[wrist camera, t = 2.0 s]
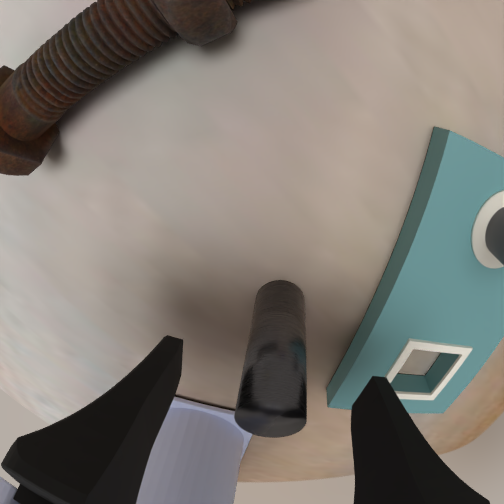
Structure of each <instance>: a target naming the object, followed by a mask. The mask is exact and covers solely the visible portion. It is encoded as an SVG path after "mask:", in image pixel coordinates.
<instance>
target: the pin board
mask: <svg viewBox="0 0 504 504" xmlns="http://www.w3.org/2000/svg"><path fill="white" fill-rule="evenodd" d="M503 336H504V158H503V157H501V156H499V155H498V154H496V153H494V152H492V151H490V150H488V149H487V148H485V147H483V146H481V145H479V144H477V143H475V142H473V141H471V140H469V139H467V138H465V137H463V136H461V135H458V134H456V133H454V132H452V131H450V130H446V129H442V128H438V127H434V129H433V133H432V137H431V141H430V144H429V148H428V151H427V155H426V158H425V162H424V165H423V168H422V172H421V175H420V178H419V181H418V184H417V187H416V190H415V193H414V196H413V199H412V202H411V205H410V208H409V211H408V214H407V216H406V219H405V222H404V225H403V227H402V230H401V233H400V235H399V238H398V240H397V243H396V246H395V248H394V251H393V253H392V256H391V258H390V260H389V263H388V265H387V268H386V270H385V272H384V275H383V277H382V279H381V282H380V284H379V286H378V288H377V291H376V293H375V295H374V297H373V299H372V302H371V304H370V306H369V308H368V310H367V312H366V314H365V317H364V319H363V321H362V323H361V325H360V327H359V329H358V331H357V333H356V335H355V337H354V339H353V341H352V343H351V345H350V347H349V348H348V350H347V352H346V354H345V356H344V358H343V360H342V362H341V364H340V365H339V367H338V369H337V371H336V373H335V374H334V376H333V378H332V380H331V382H330V383H329V385H328V387H327V389H326V390H327V407H330V408H340V409H350V410H352V405H353V403H354V402H355V401H356V399H357V398H358V396H359V395H360V393H361V392H362V391H363V389H364V388H365V386H366V385H367V383H368V382H369V380H370V379H371V377H372V376H379V377H386V378H387V379H388V381H389V383H390V384H391V386H392V387H393V389H394V391H395V392H396V394H397V396H398V397H399V399H400V401H401V402H402V404H403V406H404V407H405V409H406V411H407V412H408V413H444V412H445V410H446V409H447V408H448V407H449V406H450V405H451V404H452V403H453V402H454V400H455V399H456V398H457V397H458V396H459V395H460V393H461V392H462V391H463V390H464V389H465V388H466V386H467V385H468V384H469V383H470V381H471V380H472V379H473V378H474V376H475V375H476V374H477V373H478V371H479V370H480V369H481V367H482V366H483V365H484V363H485V362H486V361H487V359H488V358H489V357H490V355H491V354H492V352H493V351H494V350H495V348H496V347H497V345H498V344H499V342H500V341H501V339H502V338H503ZM413 349H417V350H425V351H434V352H442V353H441V354H440V356H439V357H438V359H437V360H436V361H435V363H434V364H433V366H432V367H431V368H430V370H429V371H428V373H427V374H426V375H425V376H419V375H407V374H397V373H398V371H399V370H400V369H401V367H402V366H403V364H404V363H405V361H406V360H407V358H408V357H409V355H410V353H411V352H412V350H413Z"/></svg>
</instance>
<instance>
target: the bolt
mask: <svg viewBox="0 0 504 504" xmlns="http://www.w3.org/2000/svg"><path fill="white" fill-rule="evenodd" d="M243 1H245V2H248V3H251V0H97V2H94V3H93V4H91V5H90V7H87V8H86V9H85V10H83V12H81V13H79V14H78V15H77V16H76V18H73V19H71V21H70V22H69V23H68V24H66V25H65V26H64V27H63V28H62V29H61V30H59V31H58V32H57V33H56V34H55V35H53V36H52V37H51V39H49V40H47V41H46V43H45V44H43V45H42V46H41V47H40V48H39V49H38V50H36V51H35V53H34V54H33V55H31V56H30V58H29V59H28V60H27V61H26V62H25V63H23V64H21V65H20V66H19V67H18V68H17V69H16V70H15V71H14V70H12V69H11V68H9V67H7V66H5V65H4V66H2V67H1V68H0V173H1V174H6V175H16V176H19V175H29V174H30V173H32V172H33V171H34V170H35V169H36V168H37V167H38V166H40V165H41V164H42V162H43V160H44V158H45V156H46V154H47V153H48V151H49V149H50V147H51V146H52V144H53V142H54V140H55V139H56V137H57V135H58V134H59V129H58V127H57V124H56V121H58V120H59V119H60V118H61V117H62V116H63V114H64V112H65V111H67V110H68V109H69V108H70V107H71V106H72V105H74V104H75V103H76V102H77V101H79V100H80V99H81V98H82V97H84V96H85V95H87V94H88V93H89V92H91V91H92V90H93V89H94V88H96V87H98V86H99V84H102V83H103V82H105V80H106V79H109V78H110V77H112V75H115V74H116V73H117V72H118V71H119V70H122V69H123V68H124V67H125V66H126V65H127V66H128V65H130V64H131V63H132V61H135V60H138V59H139V57H140V56H144V55H145V54H146V53H147V51H149V52H151V51H152V50H153V49H154V46H155V47H160V46H161V43H162V42H165V43H166V42H168V41H169V37H171V38H176V36H177V33H178V34H179V35H180V37H181V38H182V39H183V40H184V41H186V42H187V43H189V44H193V45H198V46H203V45H205V44H207V43H209V42H211V41H213V40H215V39H217V38H220V37H222V36H224V35H226V34H229V33H230V32H231V31H232V30H233V29H234V28H235V26H236V24H237V20H236V18H235V16H234V14H233V13H232V11H231V10H234V6H235V5H238V6H241V7H242V5H243Z"/></svg>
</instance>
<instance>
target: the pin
mask: <svg viewBox="0 0 504 504" xmlns="http://www.w3.org/2000/svg"><path fill="white" fill-rule="evenodd" d="M234 419H235V422H236V423H237V425H238V426H239V427H240V428H242V429H243V430H245V431H247V432H249V433H251V434H254V435H257V436H262V437H285V436H289V435H292V434H295V433H297V432H299V431H300V430H301V429H302V428H303V427H304V426H305V424H306V419H307V381H306V327H305V299H304V295H303V292H302V291H301V290H300V288H299V287H298V286H296V285H295V284H293V283H291V282H288V281H281V280H279V281H272V282H269V283H267V284H265V285H264V286H263V287H262V288H261V289H260V290H259V291H258V293H257V297H256V302H255V308H254V313H253V319H252V324H251V330H250V335H249V340H248V346H247V351H246V357H245V362H244V367H243V373H242V378H241V383H240V388H239V394H238V399H237V404H236V409H235V415H234Z"/></svg>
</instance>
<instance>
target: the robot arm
mask: <svg viewBox="0 0 504 504" xmlns="http://www.w3.org/2000/svg"><path fill="white" fill-rule="evenodd" d="M182 352H183V340H182V339H179V338H175V337H171V336H168V335H167V336H165V337H164V338H163V339H162V340H161V341H160V343H159V344H158V345H157V346H156V347H155V348H154V349H153V350H152V351H151V352H150V354H149V355H148V356H147V357H146V358H145V359H144V360H143V361H142V362H141V363H140V364H138V365H137V366H136V367H135V368H134V369H133V370H132V371H131V372H130V373H129V374H128V375H127V376H126V377H124V378H123V379H122V380H121V381H120V382H118V383H117V384H116V385H115V386H114V387H112V388H111V389H110V390H109V391H107V392H106V393H105V394H103V395H102V396H101V397H99V398H98V399H96V400H95V401H93V402H92V403H90V404H89V405H87V406H85V407H84V408H82V409H81V410H79V411H77V412H76V413H74V414H72V415H70V416H68V417H66V418H64V419H62V420H60V421H58V422H56V423H54V424H52V425H50V426H48V427H45V428H43V429H40V430H38V431H35V432H32V433H30V434H27V435H24V436H21V437H18V438H17V440H16V441H15V442H14V443H13V445H12V446H11V447H10V449H9V451H8V453H7V454H6V456H5V458H4V460H3V462H2V463H1V466H2V468H3V469H4V470H5V471H6V472H7V473H8V474H9V475H11V476H12V477H13V478H14V479H15V480H16V481H17V482H19V483H20V486H19V487H18V489H17V488H16V487H14V486H13V485H11V484H9V482H7V481H6V480H4V479H3V478H1V477H0V504H233V503H234V497H235V491H236V485H237V479H238V474H239V468H240V462H241V460H242V457H243V455H244V453H245V450H246V448H247V446H248V444H249V441H250V439H251V437H252V434H251V433H249V432H247V431H245V430H243V429H242V428H240V427H239V426H238V425H237V423H236V422H235V419H234V415H235V411H231V410H227V409H222V408H218V407H214V406H209V405H205V404H201V403H197V402H193V401H189V400H186V399H182V398H178V397H175V393H176V390H177V387H178V384H179V380H180V377H181V371H182ZM351 435H352V447H353V458H354V470H355V494H354V504H490V502H489V500H487V499H486V498H484V497H483V496H482V495H480V494H479V493H477V492H476V491H474V490H473V489H472V488H470V487H469V486H468V485H467V484H466V483H464V482H463V481H462V480H461V479H460V478H459V477H458V476H457V475H456V474H455V473H454V472H453V471H451V469H450V468H449V467H448V466H447V465H446V464H445V463H444V462H443V461H442V460H441V459H440V457H439V456H438V455H437V454H436V453H435V451H434V450H433V449H432V448H431V446H430V445H429V444H428V442H427V441H426V440H425V438H424V437H423V435H422V434H421V432H420V431H419V430H418V428H417V427H416V425H415V423H414V422H413V420H412V419H411V417H410V416H409V414H408V412H407V411H406V409H405V407H404V406H403V404H402V402H401V401H400V399H399V397H398V396H397V394H396V392H395V391H394V389H393V387H392V386H391V384H390V383H389V381H388V379H387V378H386V377H379V376H372V377H371V379H370V380H369V382H368V383H367V385H366V386H365V388H364V389H363V391H362V392H361V393H360V395H359V396H358V398H357V399H356V401H355V402H354V403H353V405H352V411H351Z"/></svg>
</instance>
